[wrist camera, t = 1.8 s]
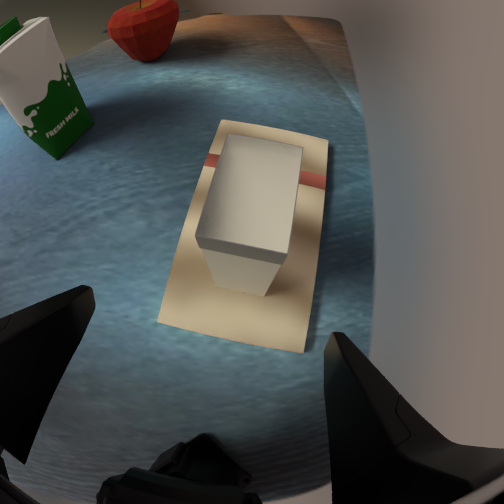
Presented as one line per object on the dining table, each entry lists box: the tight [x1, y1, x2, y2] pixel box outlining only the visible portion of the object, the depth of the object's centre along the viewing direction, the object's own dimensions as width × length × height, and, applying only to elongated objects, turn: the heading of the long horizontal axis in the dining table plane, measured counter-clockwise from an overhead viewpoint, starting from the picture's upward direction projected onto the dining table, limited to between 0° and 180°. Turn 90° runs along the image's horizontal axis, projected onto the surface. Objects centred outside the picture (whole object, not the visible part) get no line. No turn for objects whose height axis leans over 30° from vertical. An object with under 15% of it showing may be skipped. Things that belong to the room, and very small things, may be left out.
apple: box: [107, 0, 179, 62], centre depth 29 cm, size 11×11×12 cm
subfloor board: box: [157, 120, 328, 353], centre depth 25 cm, size 22×12×1 cm, turn 169°
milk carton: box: [0, 16, 94, 160], centre depth 19 cm, size 9×9×20 cm
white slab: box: [195, 133, 304, 296], centre depth 18 cm, size 6×4×11 cm
